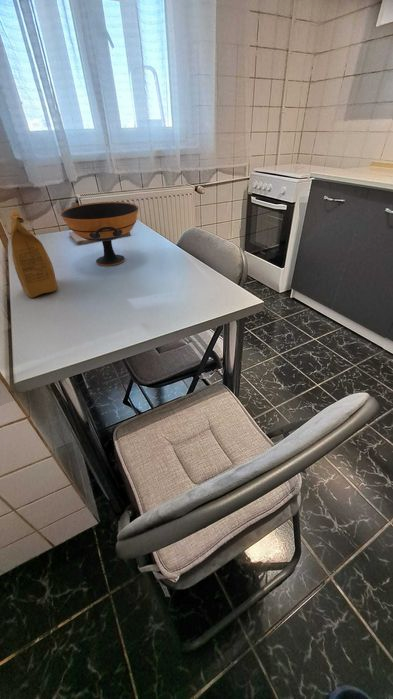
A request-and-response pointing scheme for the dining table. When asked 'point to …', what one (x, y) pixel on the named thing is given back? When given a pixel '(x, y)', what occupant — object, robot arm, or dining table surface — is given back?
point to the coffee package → (30, 260)
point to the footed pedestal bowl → (102, 225)
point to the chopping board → (81, 240)
